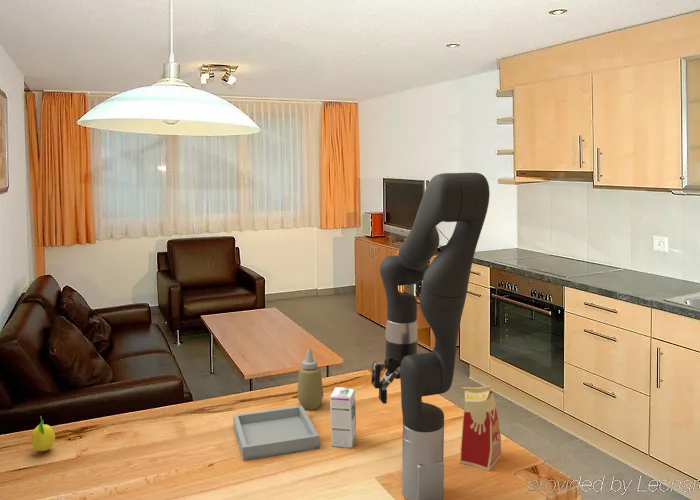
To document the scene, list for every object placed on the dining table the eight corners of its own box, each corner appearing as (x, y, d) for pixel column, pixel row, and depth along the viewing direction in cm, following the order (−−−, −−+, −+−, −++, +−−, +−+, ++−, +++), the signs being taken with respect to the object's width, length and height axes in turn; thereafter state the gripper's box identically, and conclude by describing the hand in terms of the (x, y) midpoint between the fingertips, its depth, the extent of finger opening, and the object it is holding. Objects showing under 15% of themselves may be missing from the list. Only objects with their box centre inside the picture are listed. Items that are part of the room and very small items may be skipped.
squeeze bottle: (293, 410, 182) (291, 353, 179) (303, 399, 189) (301, 344, 186) (318, 413, 180) (317, 355, 176) (327, 402, 187) (326, 347, 184)
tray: (319, 448, 159) (319, 435, 158) (243, 460, 153) (242, 447, 152) (302, 416, 178) (301, 405, 177) (233, 426, 172) (233, 414, 171)
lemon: (46, 459, 155) (43, 422, 153) (26, 457, 155) (22, 421, 154) (63, 446, 161) (59, 411, 159) (43, 444, 162) (39, 410, 160)
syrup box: (352, 448, 159) (351, 396, 156) (330, 446, 160) (329, 394, 157) (356, 438, 164) (356, 388, 162) (335, 436, 165) (334, 386, 163)
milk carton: (501, 455, 154) (504, 381, 151) (490, 471, 147) (492, 394, 143) (467, 446, 159) (469, 374, 156) (454, 462, 151) (456, 386, 148)
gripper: (378, 345, 138) (378, 411, 141) (435, 339, 142) (433, 402, 146) (368, 335, 145) (367, 397, 148) (422, 329, 149) (420, 390, 153)
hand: (400, 400), depth 147 cm, fingers open, 8 cm apart
